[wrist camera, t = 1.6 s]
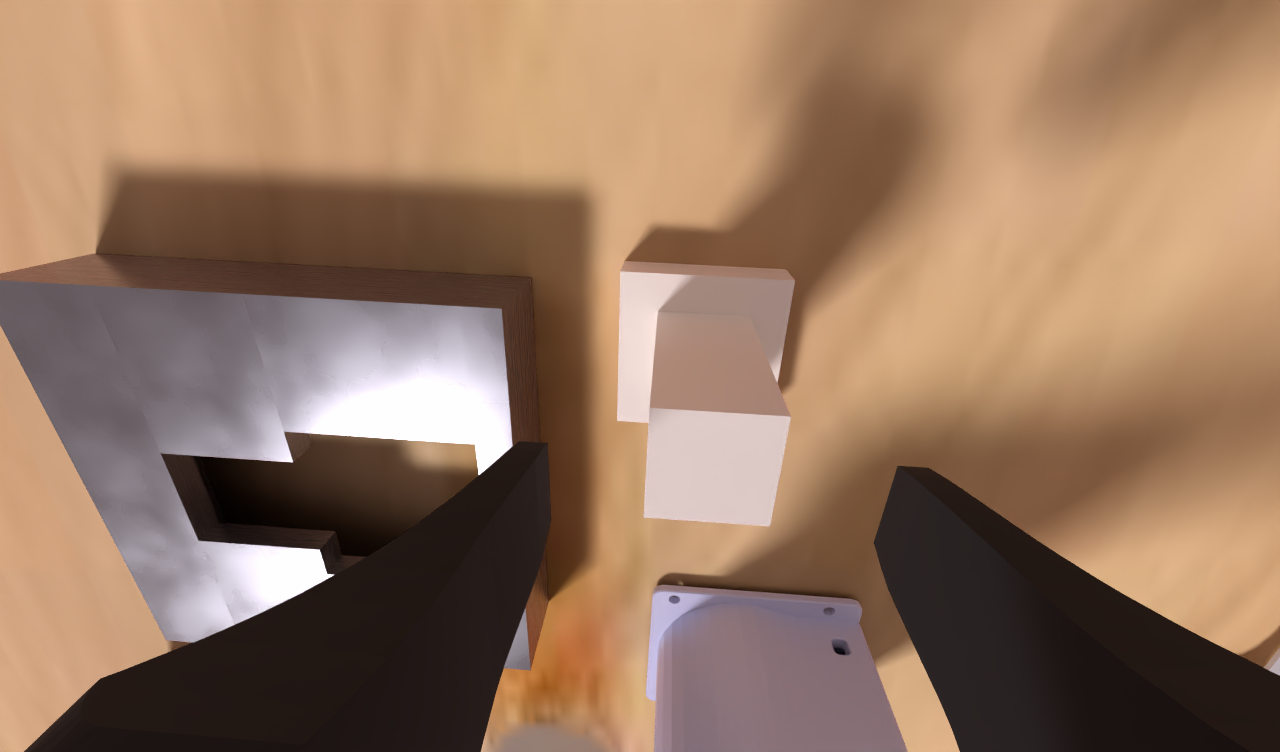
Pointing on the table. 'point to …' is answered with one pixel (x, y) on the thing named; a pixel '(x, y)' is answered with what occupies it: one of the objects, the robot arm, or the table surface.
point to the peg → (706, 386)
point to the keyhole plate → (260, 402)
